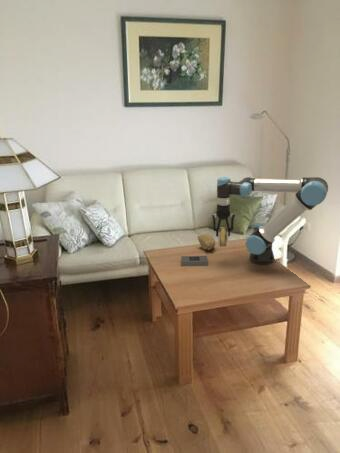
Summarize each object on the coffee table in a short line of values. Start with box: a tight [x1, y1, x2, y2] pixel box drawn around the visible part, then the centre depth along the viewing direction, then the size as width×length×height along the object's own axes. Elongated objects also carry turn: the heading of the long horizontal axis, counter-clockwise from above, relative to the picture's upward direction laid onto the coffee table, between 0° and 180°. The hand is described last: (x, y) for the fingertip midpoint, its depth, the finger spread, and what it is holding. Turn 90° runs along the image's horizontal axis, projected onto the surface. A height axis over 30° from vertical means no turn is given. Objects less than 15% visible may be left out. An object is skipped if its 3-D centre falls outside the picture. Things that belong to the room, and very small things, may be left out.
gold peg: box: [218, 226, 228, 248], centre depth 218 cm, size 4×4×11 cm
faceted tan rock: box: [196, 233, 216, 251], centre depth 242 cm, size 15×11×12 cm
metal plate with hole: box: [180, 255, 209, 267], centre depth 223 cm, size 16×9×2 cm, turn 90°
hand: (222, 241), depth 219 cm, fingers closed on gold peg, 4 cm apart
